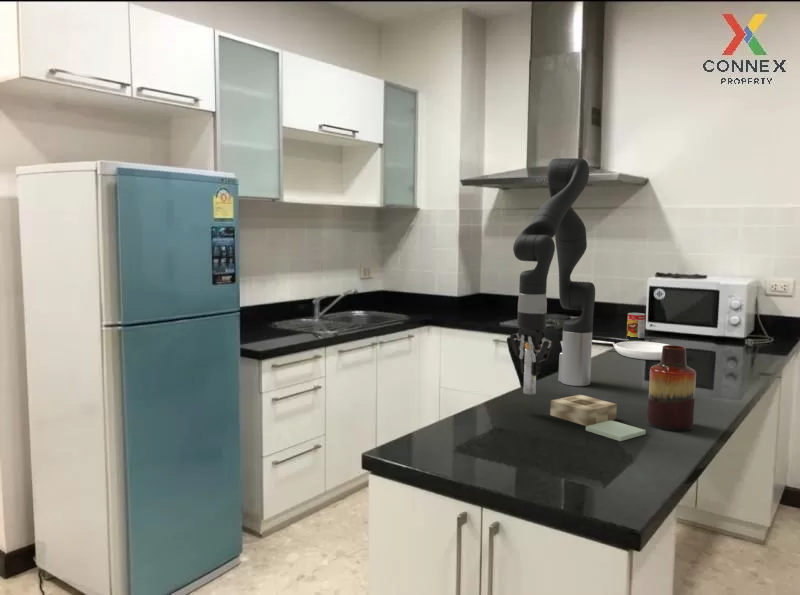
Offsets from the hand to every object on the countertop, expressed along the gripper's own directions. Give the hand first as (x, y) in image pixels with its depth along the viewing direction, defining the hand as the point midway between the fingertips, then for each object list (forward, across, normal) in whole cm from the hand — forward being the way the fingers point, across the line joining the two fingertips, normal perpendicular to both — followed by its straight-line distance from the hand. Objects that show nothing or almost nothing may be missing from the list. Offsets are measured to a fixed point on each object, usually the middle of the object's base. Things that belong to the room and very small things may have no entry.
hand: (530, 373), depth 172 cm
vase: (+11, +27, +23) cm, 37 cm away
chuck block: (+11, +10, +10) cm, 18 cm away
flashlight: (+5, 0, 0) cm, 5 cm away
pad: (+11, +23, +6) cm, 26 cm away
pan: (+13, -40, +102) cm, 110 cm away
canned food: (+14, -62, +138) cm, 152 cm away
